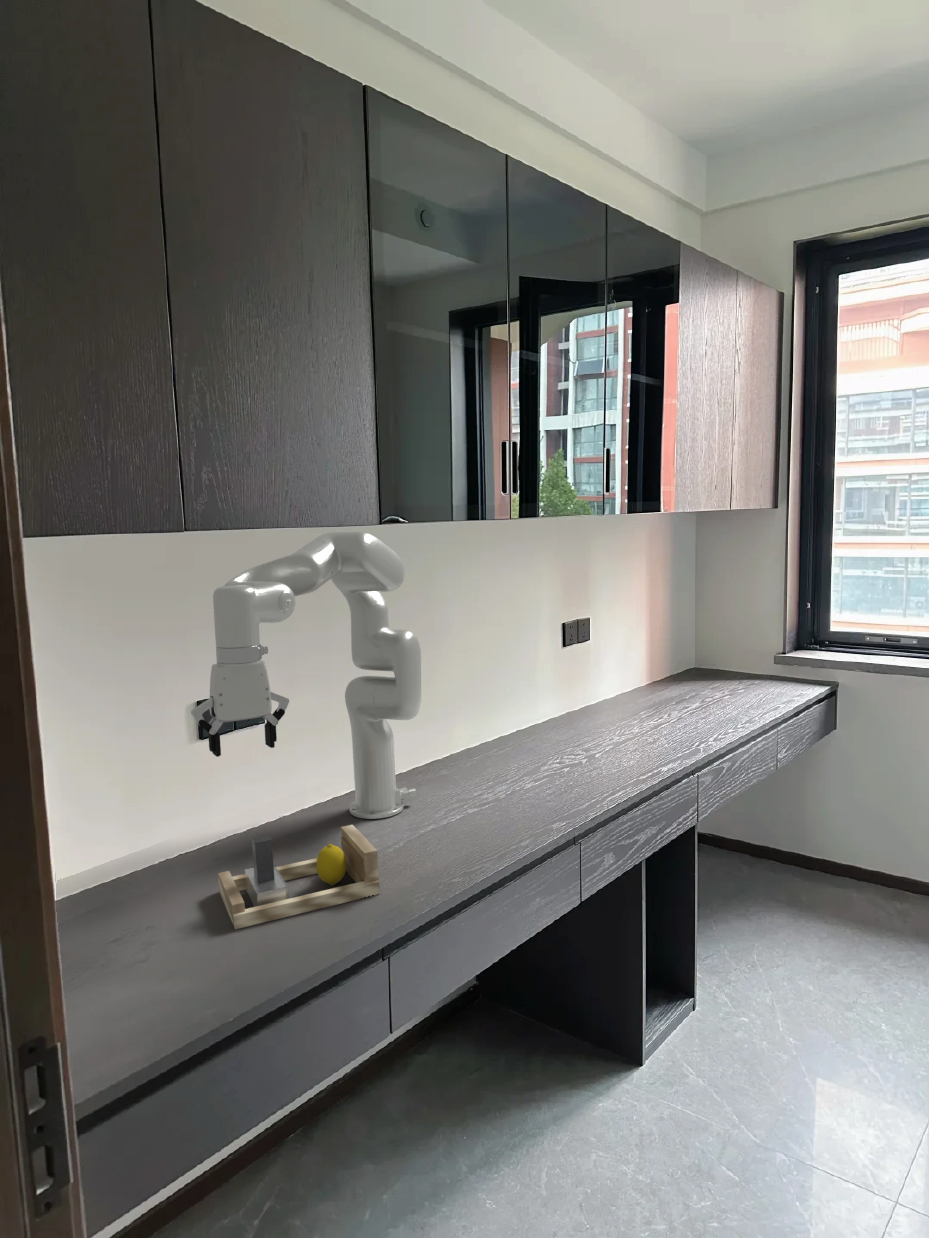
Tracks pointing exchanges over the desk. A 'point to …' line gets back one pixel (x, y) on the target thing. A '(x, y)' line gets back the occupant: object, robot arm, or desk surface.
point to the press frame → (358, 867)
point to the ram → (264, 874)
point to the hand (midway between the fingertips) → (243, 750)
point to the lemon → (331, 864)
